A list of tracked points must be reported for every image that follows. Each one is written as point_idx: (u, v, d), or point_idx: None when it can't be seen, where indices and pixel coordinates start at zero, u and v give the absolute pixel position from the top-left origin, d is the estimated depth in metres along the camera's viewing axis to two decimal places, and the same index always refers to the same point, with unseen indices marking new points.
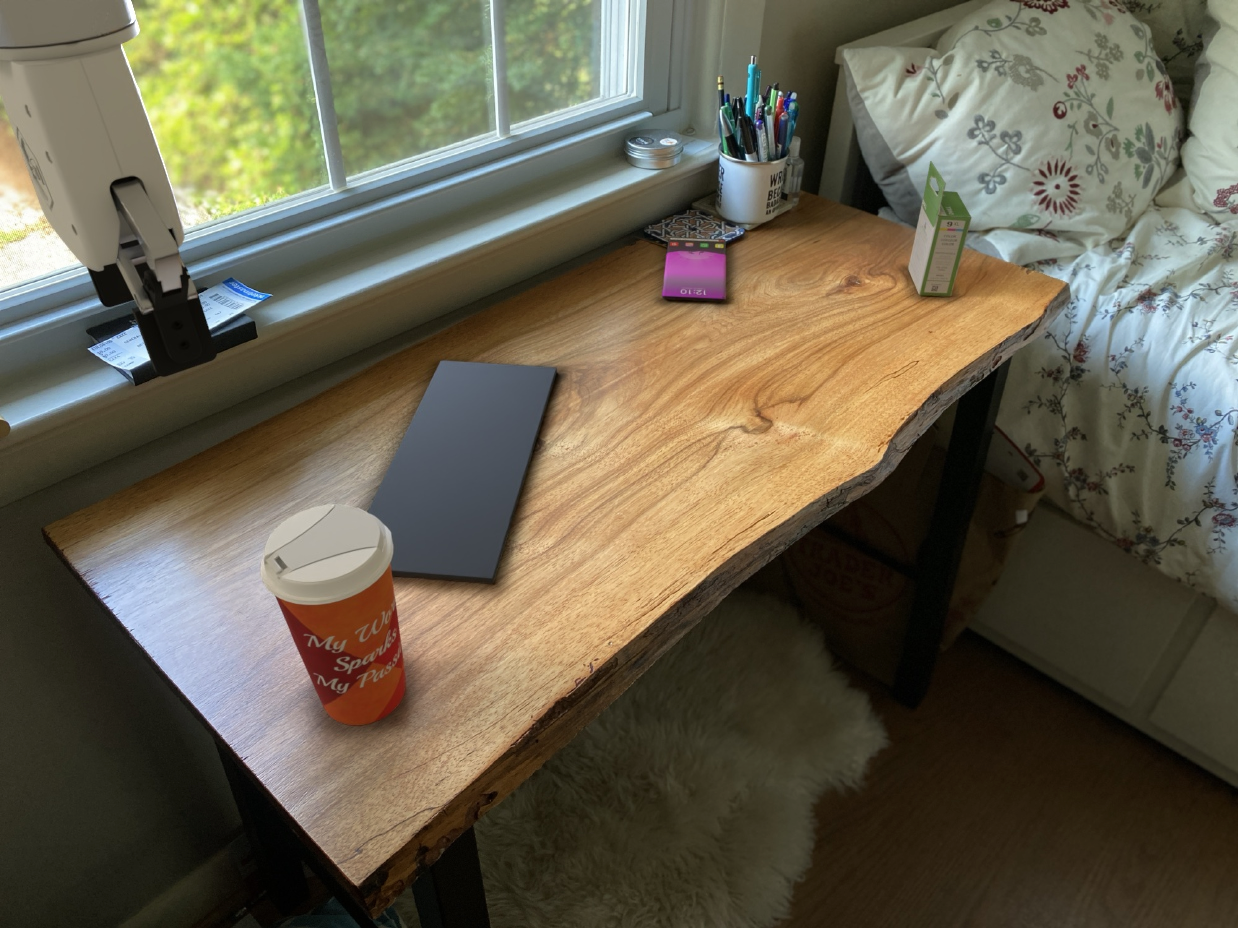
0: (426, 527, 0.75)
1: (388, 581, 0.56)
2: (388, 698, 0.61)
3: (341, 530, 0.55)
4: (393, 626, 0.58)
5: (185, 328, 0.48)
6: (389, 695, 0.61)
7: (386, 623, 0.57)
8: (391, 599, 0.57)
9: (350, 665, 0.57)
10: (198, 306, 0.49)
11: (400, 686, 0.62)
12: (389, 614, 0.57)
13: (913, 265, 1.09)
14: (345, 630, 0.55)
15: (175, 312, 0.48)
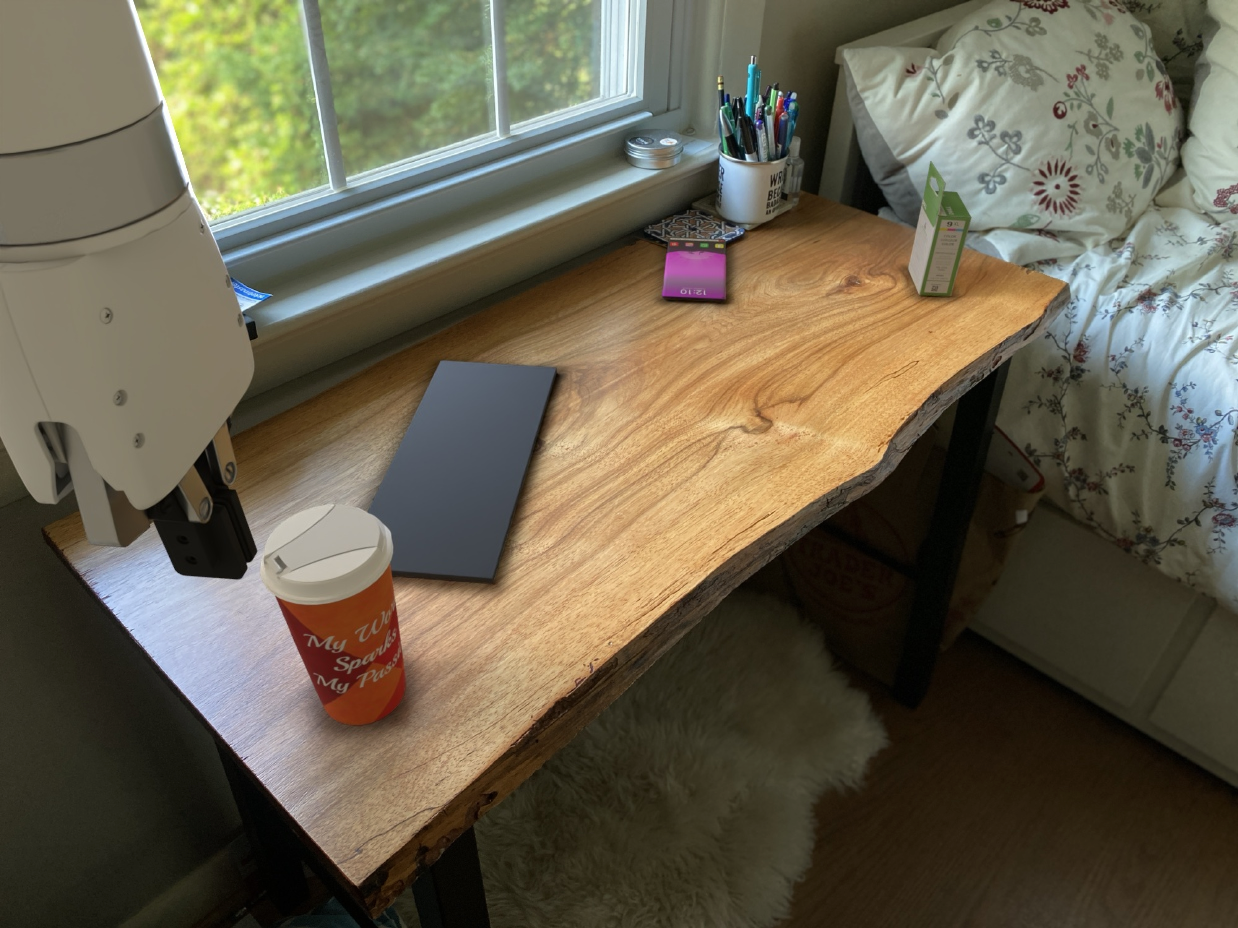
0: (426, 527, 0.75)
1: (388, 581, 0.56)
2: (388, 698, 0.61)
3: (341, 530, 0.55)
4: (393, 626, 0.58)
5: (193, 545, 0.39)
6: (389, 695, 0.61)
7: (386, 623, 0.57)
8: (391, 599, 0.57)
9: (350, 664, 0.57)
10: (220, 525, 0.39)
11: (400, 686, 0.62)
12: (389, 613, 0.57)
13: (913, 265, 1.09)
14: (344, 630, 0.55)
15: (180, 528, 0.39)
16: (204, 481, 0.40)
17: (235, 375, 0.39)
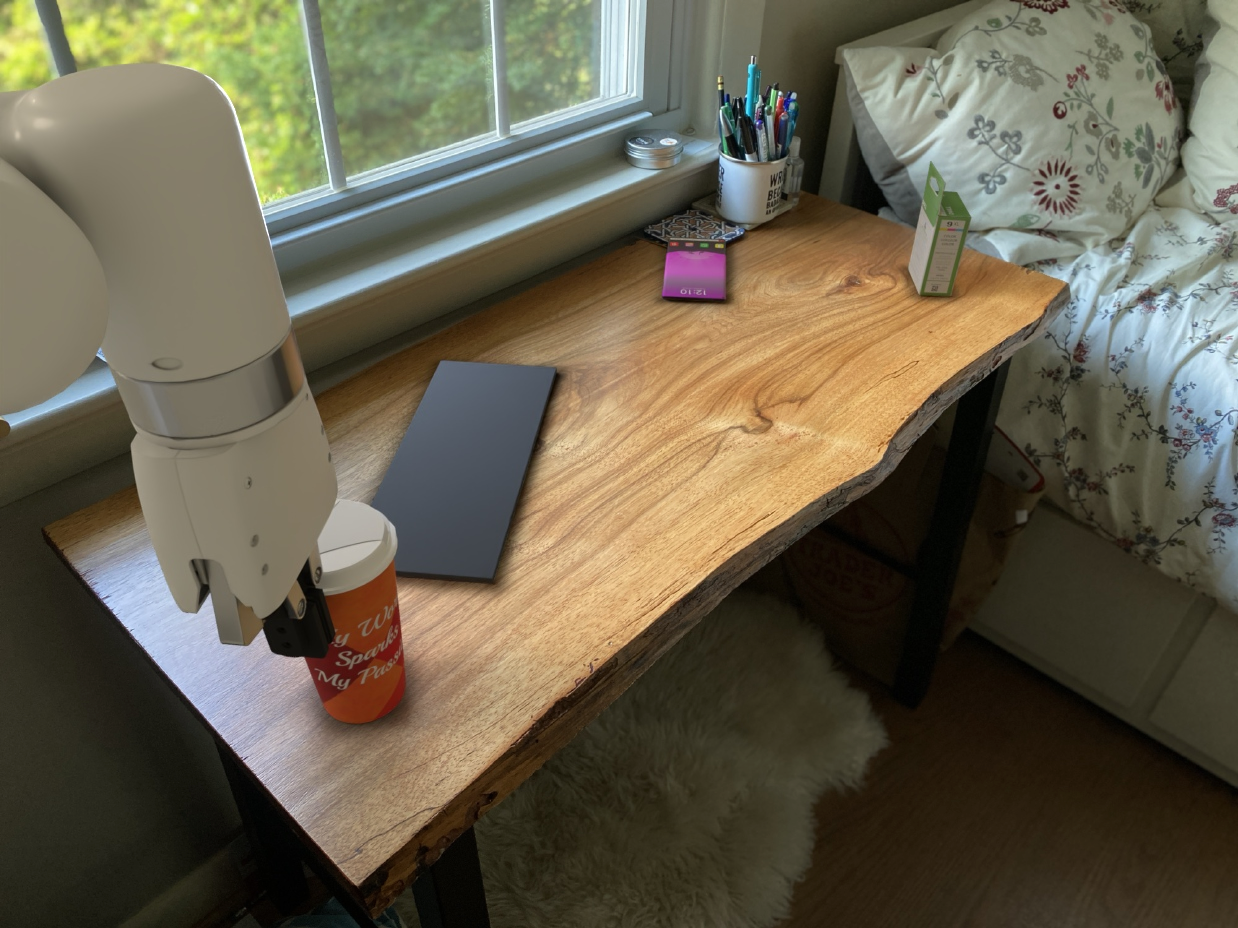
0: (426, 527, 0.75)
1: (391, 576, 0.56)
2: (388, 696, 0.61)
3: (346, 524, 0.56)
4: (395, 623, 0.59)
5: (289, 634, 0.50)
6: (389, 693, 0.61)
7: (389, 618, 0.57)
8: (394, 594, 0.58)
9: (352, 659, 0.57)
10: (311, 618, 0.50)
11: (400, 685, 0.62)
12: (391, 609, 0.57)
13: (913, 265, 1.09)
14: (348, 623, 0.55)
15: (280, 621, 0.49)
16: (298, 583, 0.50)
17: (326, 502, 0.49)
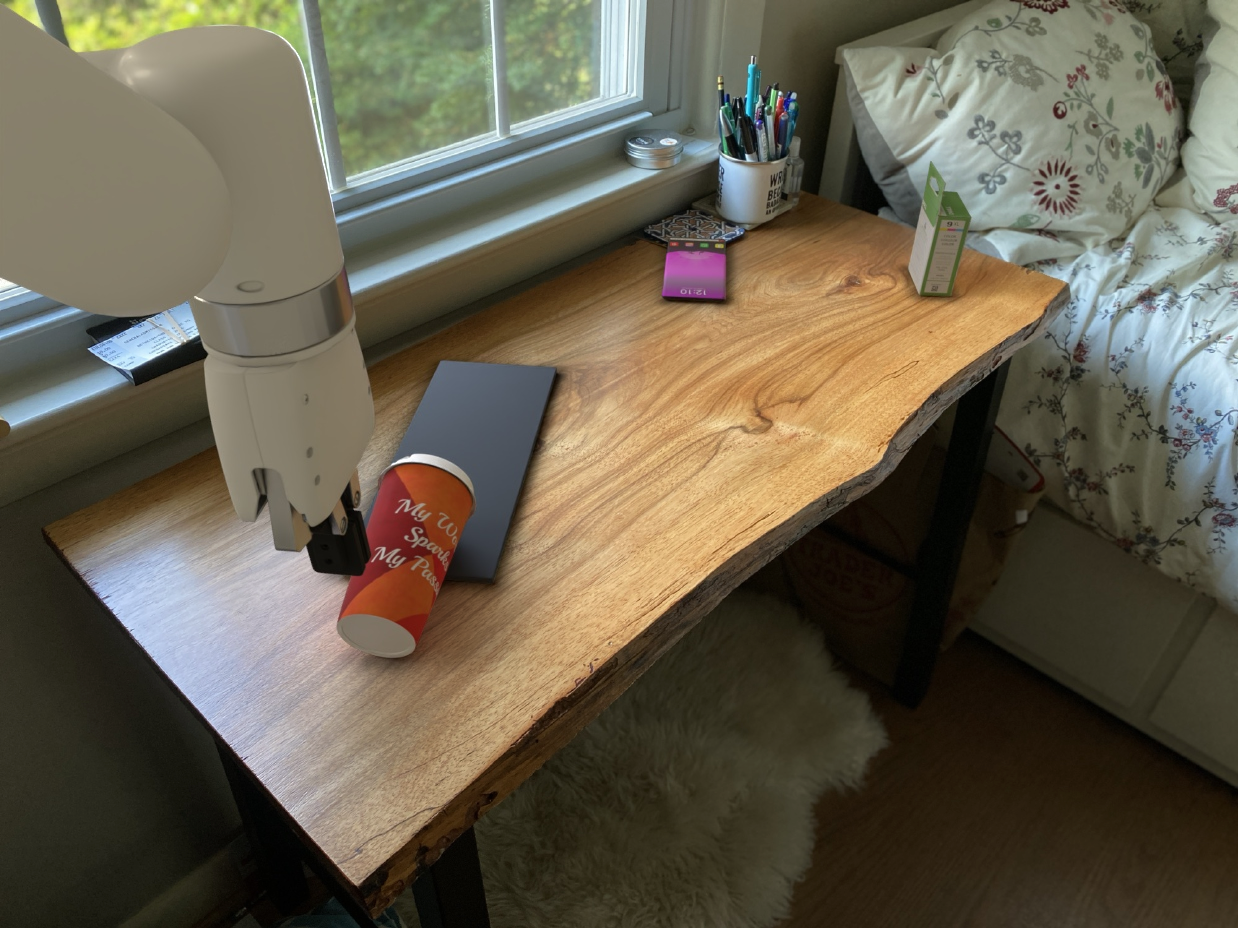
0: None
1: (465, 521, 0.71)
2: (416, 611, 0.63)
3: None
4: (449, 560, 0.68)
5: (331, 551, 0.55)
6: (418, 608, 0.64)
7: (452, 542, 0.68)
8: (458, 538, 0.70)
9: (419, 539, 0.66)
10: (351, 536, 0.55)
11: (422, 624, 0.64)
12: (455, 540, 0.69)
13: (913, 265, 1.09)
14: (435, 504, 0.68)
15: (324, 538, 0.54)
16: None
17: (365, 430, 0.54)
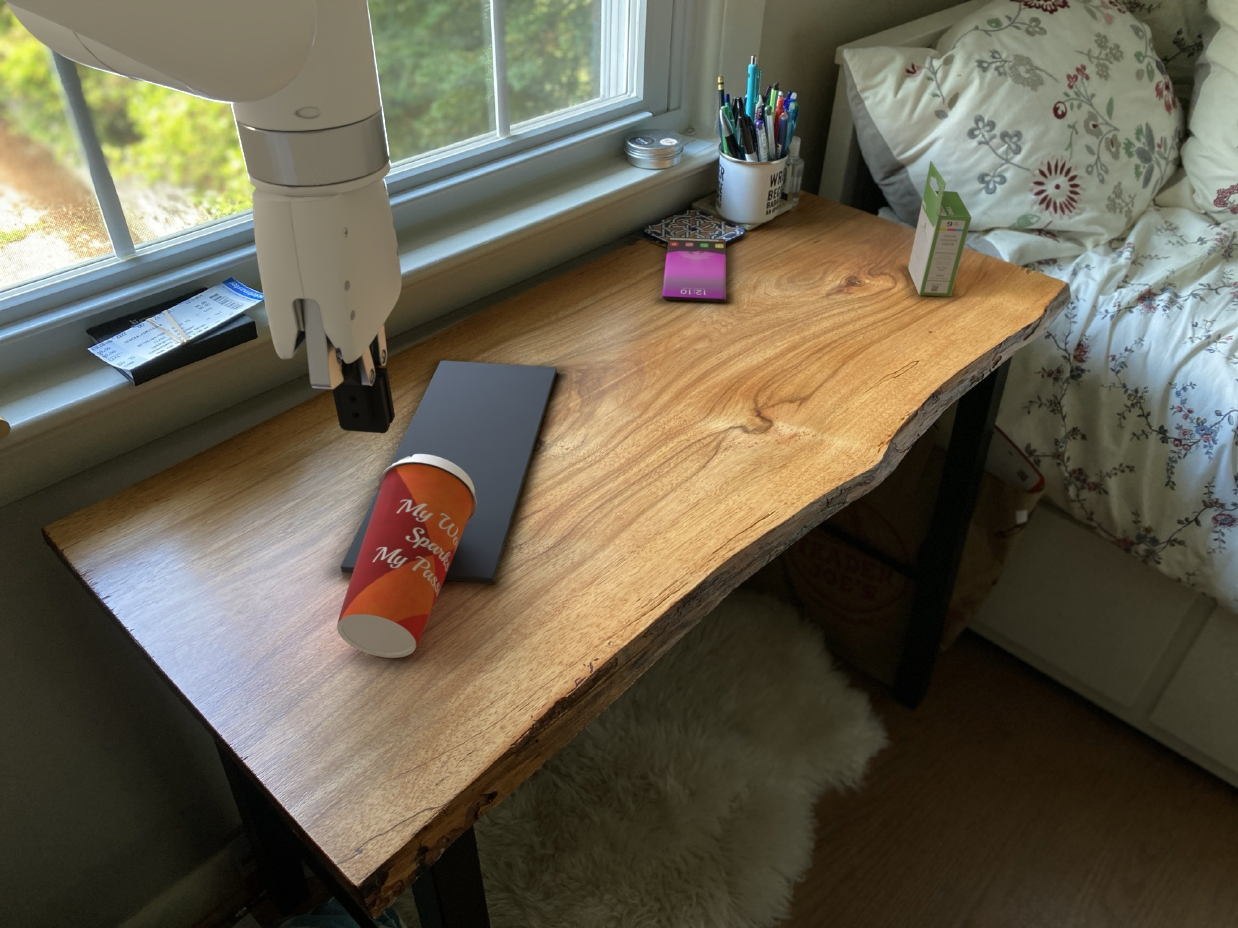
0: None
1: (466, 521, 0.71)
2: (417, 611, 0.63)
3: None
4: (450, 560, 0.68)
5: (359, 403, 0.58)
6: (419, 609, 0.64)
7: (453, 542, 0.68)
8: (459, 538, 0.70)
9: (420, 539, 0.66)
10: (378, 390, 0.58)
11: (423, 624, 0.64)
12: (456, 541, 0.69)
13: (913, 265, 1.09)
14: (437, 504, 0.68)
15: (353, 390, 0.58)
16: None
17: (393, 288, 0.58)
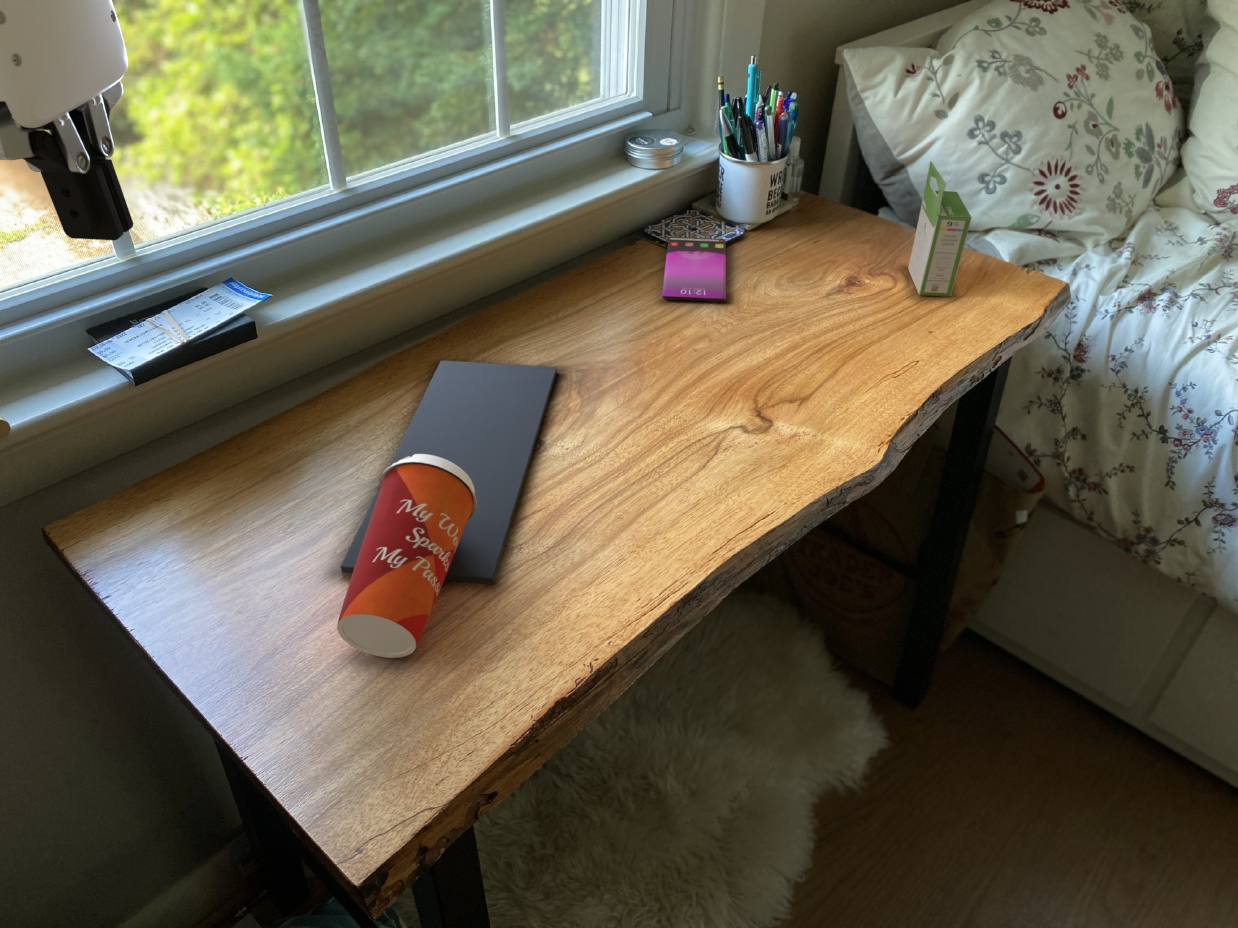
0: None
1: (466, 521, 0.71)
2: (417, 611, 0.63)
3: None
4: (450, 560, 0.68)
5: (74, 198, 0.50)
6: (419, 609, 0.64)
7: (453, 542, 0.68)
8: (459, 538, 0.70)
9: (420, 539, 0.66)
10: (97, 183, 0.50)
11: (423, 624, 0.64)
12: (456, 541, 0.69)
13: (913, 265, 1.09)
14: (437, 504, 0.68)
15: (63, 180, 0.49)
16: (85, 148, 0.50)
17: (108, 59, 0.49)
